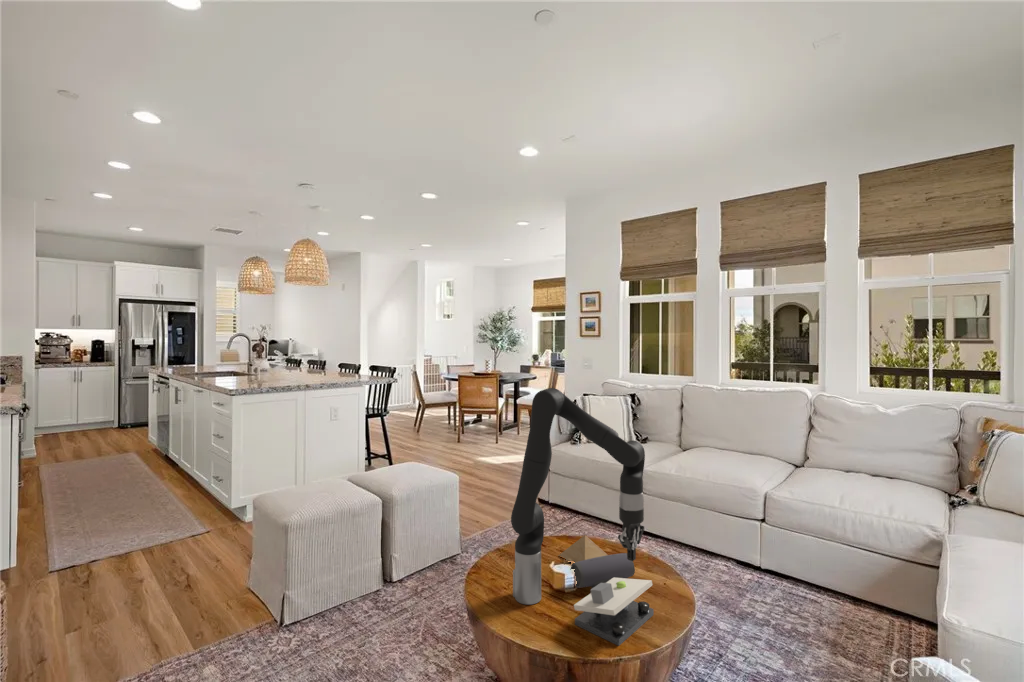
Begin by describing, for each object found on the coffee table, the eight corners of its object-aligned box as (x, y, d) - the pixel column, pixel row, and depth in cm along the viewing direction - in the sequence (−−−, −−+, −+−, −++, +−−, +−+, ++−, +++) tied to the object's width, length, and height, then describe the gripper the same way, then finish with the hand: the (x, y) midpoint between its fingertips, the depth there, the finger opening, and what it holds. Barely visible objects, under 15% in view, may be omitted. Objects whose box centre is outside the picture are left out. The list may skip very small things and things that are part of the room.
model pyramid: (555, 557, 209) (555, 533, 209) (585, 546, 219) (585, 523, 219) (583, 573, 196) (583, 547, 196) (614, 560, 206) (614, 536, 206)
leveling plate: (575, 613, 159) (571, 591, 160) (615, 585, 177) (611, 565, 178) (615, 619, 149) (610, 596, 150) (653, 588, 167) (648, 567, 168)
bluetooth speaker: (621, 572, 195) (621, 547, 195) (635, 584, 186) (635, 557, 186) (569, 583, 187) (569, 557, 187) (581, 596, 178) (581, 568, 178)
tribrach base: (574, 624, 161) (574, 605, 161) (611, 597, 177) (611, 580, 177) (618, 646, 150) (618, 625, 150) (653, 614, 166) (653, 596, 166)
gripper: (631, 497, 166) (631, 549, 166) (609, 508, 156) (610, 563, 157) (652, 502, 161) (652, 556, 161) (631, 514, 151) (631, 571, 152)
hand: (631, 559), depth 159 cm, fingers closed
